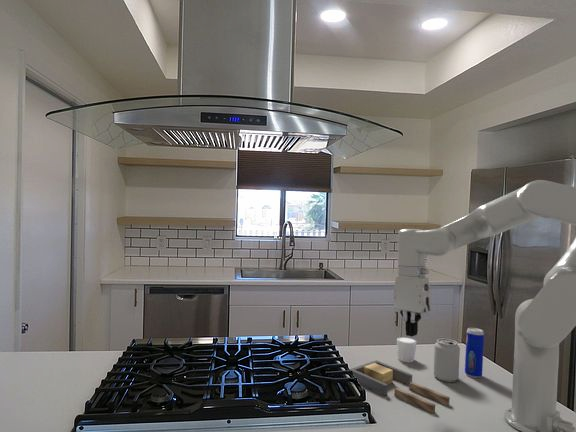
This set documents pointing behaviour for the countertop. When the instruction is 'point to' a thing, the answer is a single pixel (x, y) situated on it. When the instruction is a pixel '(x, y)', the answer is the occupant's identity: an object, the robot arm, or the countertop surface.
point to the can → (446, 360)
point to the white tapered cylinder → (406, 349)
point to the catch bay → (377, 384)
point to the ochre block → (379, 373)
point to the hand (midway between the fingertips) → (411, 335)
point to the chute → (419, 401)
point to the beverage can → (474, 352)
